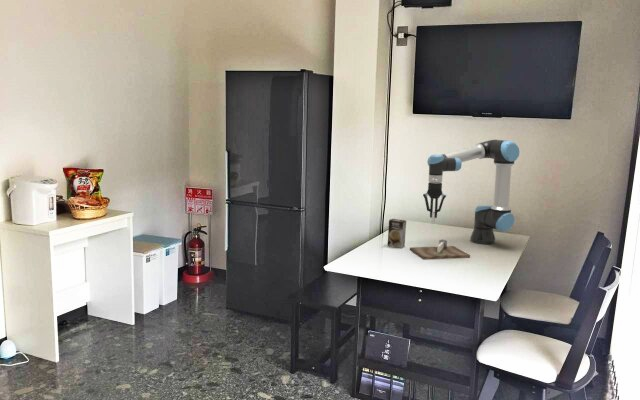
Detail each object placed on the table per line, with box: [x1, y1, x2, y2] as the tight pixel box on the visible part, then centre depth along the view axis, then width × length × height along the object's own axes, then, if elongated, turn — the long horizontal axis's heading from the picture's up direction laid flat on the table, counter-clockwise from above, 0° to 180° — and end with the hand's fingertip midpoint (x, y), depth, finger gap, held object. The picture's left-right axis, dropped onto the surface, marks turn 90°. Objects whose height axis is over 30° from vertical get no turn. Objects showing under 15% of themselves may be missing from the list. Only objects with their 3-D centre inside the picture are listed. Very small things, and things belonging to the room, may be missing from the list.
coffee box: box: [387, 218, 407, 249], centre depth 322 cm, size 9×6×16 cm
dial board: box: [409, 245, 471, 260], centre depth 309 cm, size 28×20×2 cm
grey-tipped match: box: [437, 239, 448, 253], centre depth 311 cm, size 15×4×4 cm, turn 157°
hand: (433, 223), depth 307 cm, fingers closed
